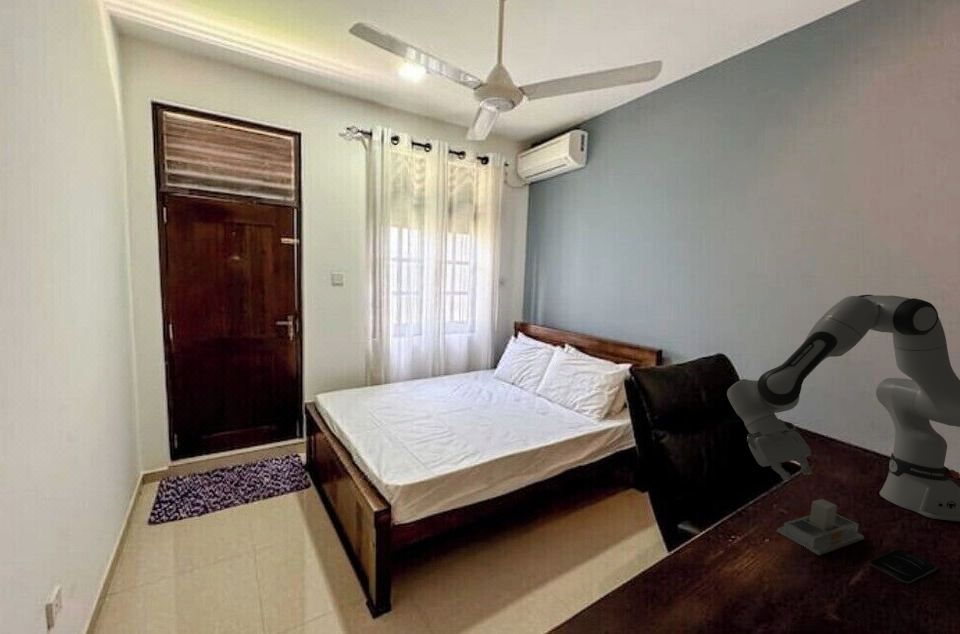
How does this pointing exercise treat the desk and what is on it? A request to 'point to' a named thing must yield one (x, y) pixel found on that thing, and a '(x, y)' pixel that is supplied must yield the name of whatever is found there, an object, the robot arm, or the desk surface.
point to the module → (823, 514)
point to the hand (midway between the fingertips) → (798, 476)
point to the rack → (821, 534)
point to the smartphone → (903, 565)
